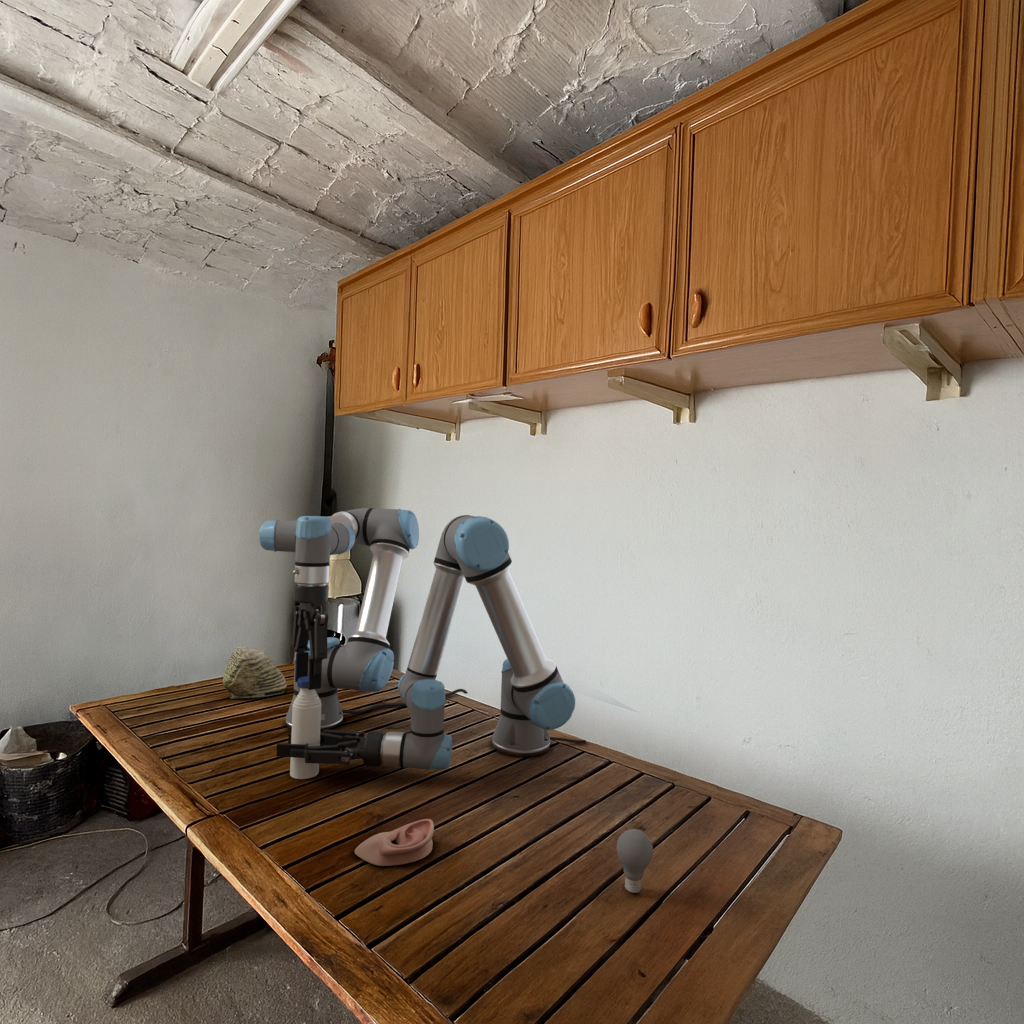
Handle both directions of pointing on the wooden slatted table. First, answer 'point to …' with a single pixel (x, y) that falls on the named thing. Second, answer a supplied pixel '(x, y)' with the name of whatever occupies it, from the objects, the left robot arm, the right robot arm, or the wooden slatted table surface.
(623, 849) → the light bulb
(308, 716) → the bottle
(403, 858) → the anatomical model
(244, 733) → the wooden slatted table surface
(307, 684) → the cap
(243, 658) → the fossil
